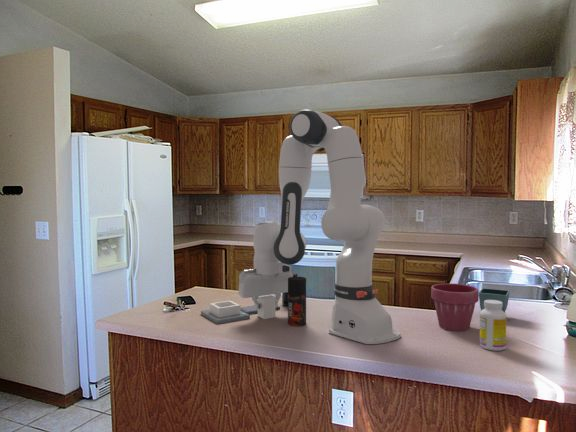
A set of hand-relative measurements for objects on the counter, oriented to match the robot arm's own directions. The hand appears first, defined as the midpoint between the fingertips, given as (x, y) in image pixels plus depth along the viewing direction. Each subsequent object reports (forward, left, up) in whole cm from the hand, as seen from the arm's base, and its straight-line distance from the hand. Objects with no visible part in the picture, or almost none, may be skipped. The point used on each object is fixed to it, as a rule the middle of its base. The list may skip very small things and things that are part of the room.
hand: (266, 307), depth 158 cm
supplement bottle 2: (-61, -37, -3) cm, 71 cm away
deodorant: (-13, -4, -3) cm, 14 cm away
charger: (0, 0, -3) cm, 3 cm away
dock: (+8, +12, -3) cm, 15 cm away
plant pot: (-43, -44, -3) cm, 62 cm away
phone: (+9, -2, -3) cm, 10 cm away
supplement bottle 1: (+9, -16, -3) cm, 19 cm away
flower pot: (-43, -65, -3) cm, 78 cm away
